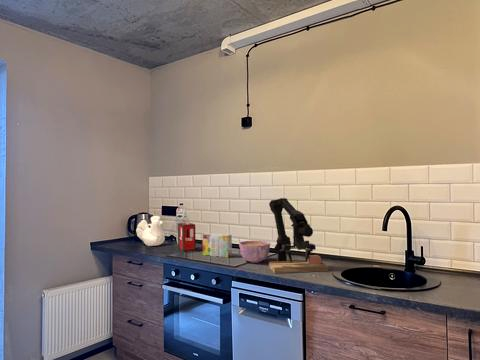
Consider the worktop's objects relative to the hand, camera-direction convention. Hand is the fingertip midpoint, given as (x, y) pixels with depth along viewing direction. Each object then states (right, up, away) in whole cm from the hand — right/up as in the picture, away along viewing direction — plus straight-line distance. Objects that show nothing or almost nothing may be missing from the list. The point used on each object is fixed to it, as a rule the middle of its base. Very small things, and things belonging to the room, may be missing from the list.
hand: (298, 261), depth 192 cm
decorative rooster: (-108, -7, +84) cm, 138 cm away
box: (-1, -3, -4) cm, 5 cm away
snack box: (-50, -5, +36) cm, 62 cm away
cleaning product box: (-74, -6, +59) cm, 95 cm away
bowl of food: (-25, -4, +17) cm, 30 cm away
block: (+9, -1, +1) cm, 9 cm away
